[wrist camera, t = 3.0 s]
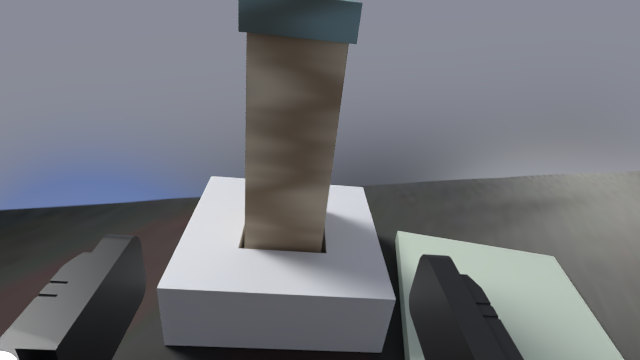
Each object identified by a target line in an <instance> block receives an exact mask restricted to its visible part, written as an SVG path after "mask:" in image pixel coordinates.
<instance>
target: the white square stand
mask: <svg viewBox="0 0 640 360" xmlns="http://www.w3.org/2000/svg"><path fill="white" fill-rule="evenodd" d="M244 243H245V179H241V178H227V177H215V176H211V178H210V180H209V182H208V184H207V187H206V189H205V191H204V193H203V195H202V197H201V199H200V201H199V203H198V205H197V207H196V209H195V211H194V213H193V215H192V217H191V219H190V221H189V223H188V225H187V227H186V229H185V231H184V233H183V236H182V238H181V240H180V242H179V244H178V246H177V248H176V250H175V252H174V254H173V256H172V258H171V260H170V262H169V264H168V266H167V268H166V270H165V272H164V274H163V276H162V278H161V280H160V282H159V285H158V287H157V294H158V301H159V308H160V316H161V323H162V330H163V338H164V345H178V346H207V347H235V348H263V349H291V350H319V351H347V352H375V353H381V352H382V348H383V345H384V341H385V337H386V334H387V330H388V326H389V323H390V319H391V315H392V312H393V308H394V305H395V301H396V298H395V295H394V292H393V288H392V285H391V282H390V278H389V275H388V271H387V268H386V265H385V261H384V258H383V254H382V251H381V248H380V244H379V241H378V237H377V234H376V231H375V227H374V224H373V220H372V217H371V214H370V210H369V207H368V203H367V200H366V197H365V193H364V190H363V187H351V186H337V185H330V188H329V196H328V203H327V211H326V218H325V226H324V233H323V241H322V248H321V253H312V252H295V251H277V250H260V249H244Z"/></svg>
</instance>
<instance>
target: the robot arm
mask: <svg viewBox="0 0 640 360" xmlns="http://www.w3.org/2000/svg"><path fill="white" fill-rule="evenodd" d="M145 288H146V275H145V269H144V262H143V256H142V249H141V243H140V239H139V238H138V237H137V236H122V235H106V236H105V237H104V238H103V239H102V240H101V242H100V243H99V244H98V245H97V247H96V248H95V249H94V250H93V252H92V253H85V252H83V253H82V254H80V255H78V256H77V257H75V258H74V259H72V260H71V261H69V262H68V263H66V264H65V265H63V266H62V268H61V269H60V270H59V271H58V272H57V273H56V274H55V276H54V277H53V278H52V279H51V280H50V284H47V285H46V286H45V287H44V288H43V289H42V291H41V292H40V293H39V296H38V297H36V298H35V299H34V300H33V301H32V302H31V303H30V304H29V306H28V307H27V308H26V309H25V310H24V311H23V313H22V314H21V315H20V316H19V317H18V318H17V319H16V321H15V322H14V323H13V324H12V325H11V326H10V328H9V329H8V330H7V331H6V332H5V333H4V334H3V336H2V337H1V338H0V360H112V358H113V356H114V354H115V352H116V350H117V348H118V346H119V344H120V342H121V340H122V339H123V337H124V335H125V333H126V331H127V329H128V327H129V325H130V323H131V321H132V319H133V317H134V315H135V313H136V311H137V310H138V308H139V306H140V304H141V302H142V299H143V297H144V293H145ZM409 310H410V315H411V318H412V321H413V324H414V327H415V330H416V333H417V337H418V340H419V343H420V346H421V349H422V352H423V355H424V358H425V360H524V359H523V357H522V355H521V353H520V352H519V350H518V348H517V347H516V345H515V343H514V342H513V340H512V338H511V337H510V335H509V333H508V331H507V330H506V328H505V326H504V325H503V323H502V321H501V320H500V319H498V315H497V313H496V311H495V309H494V308H493V306H491V303H490V301H489V299H488V298H487V296H486V294H485V293H484V291H483V289H482V288H481V287H480V286H479V285H478V284H477V283H476V282H475V281H474V280H473V279H472V278H470V277H469V276H468V275H467V274H460V273H459V271H458V269H457V267H456V266H455V264H454V262H453V260H452V258H451V257H450V256H445V255H428V254H423V255H422V256H421V257H420V259H419V263H418V266H417V269H416V273H415V276H414V280H413V283H412V287H411V290H410V294H409Z"/></svg>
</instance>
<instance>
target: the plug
mask: <svg viewBox="0 0 640 360" xmlns="http://www.w3.org/2000/svg"><path fill="white" fill-rule="evenodd" d="M361 8H362V3H361V2H357V1H354V0H239V32H247V63H246V64H247V65H246V151H245V153H246V155H245V243H244V249H260V250H277V251H295V252H312V253H321V248H322V241H323V233H324V226H325V218H326V211H327V203H328V196H329V188H330V181H331V173H332V166H333V158H334V150H335V143H336V135H337V128H338V120H339V112H340V105H341V98H342V90H343V83H344V75H345V68H346V60H347V53H348V45H349V43H352V44H356V43H357V37H358V29H359V23H360V16H361Z"/></svg>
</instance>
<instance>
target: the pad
mask: <svg viewBox="0 0 640 360" xmlns="http://www.w3.org/2000/svg"><path fill="white" fill-rule="evenodd" d="M395 244H396V257H397V269H398V281H399V294H400V306H401V318H402V331H403V343H404V355H405V360H425V358H424V355H423V352H422V349H421V346H420V343H419V340H418V337H417V333H416V330H415V327H414V324H413V321H412V318H411V315H410V310H409V294H410V290H411V287H412V283H413V280H414V276H415V273H416V269H417V266H418V263H419V259H420V257H421V256H422V255H423V254H428V255H445V256H450V257H451V258H452V260H453V262H454V264H455V266H456V267H457V269H458V271H459V273H460V274H467V275H468V276H469V277H470V278H472V279H473V280H474V281H475V282H476V283H477V284H478V285H479V286H480V287H481V288H482V289H483V291H484V293H485V294H486V296H487V298H488V299H489V301H490V303H491V306H493V308H494V309H495V311H496V313H497V315H498V319H500V320H501V321H502V323H503V325H504V326H505V328H506V330H507V331H508V333H509V335H510V337H511V338H512V340H513V342H514V343H515V345H516V347H517V348H518V350H519V352H520V353H521V355H522V357H523V359H524V360H624V359H623V357H622V356H621V355H620V353H619V352H618V350H617V349H616V347H615V346H614V344H613V343H612V341H611V340H610V338H609V337H608V335H607V334H606V333H605V331H604V330H603V328H602V327H601V325H600V324H599V322H598V321H597V319H596V318H595V316H594V315H593V314H592V312H591V311H590V309H589V308H588V306H587V305H586V303H585V302H584V300H583V299H582V297H581V296H580V295H579V293H578V292H577V290H576V289H575V287H574V286H573V284H572V283H571V281H570V280H569V278H568V277H567V276H566V274H565V273H564V271H563V270H562V268H561V267H560V265H559V264H558V262H557V261H556V259H555V258H554V256H548V255H542V254H535V253H529V252H523V251H517V250H511V249H505V248H499V247H493V246H487V245H481V244H474V243H468V242H462V241H456V240H450V239H444V238H438V237H432V236H426V235H419V234H413V233H407V232H401V231H398V232H397V236H396V240H395Z"/></svg>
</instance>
